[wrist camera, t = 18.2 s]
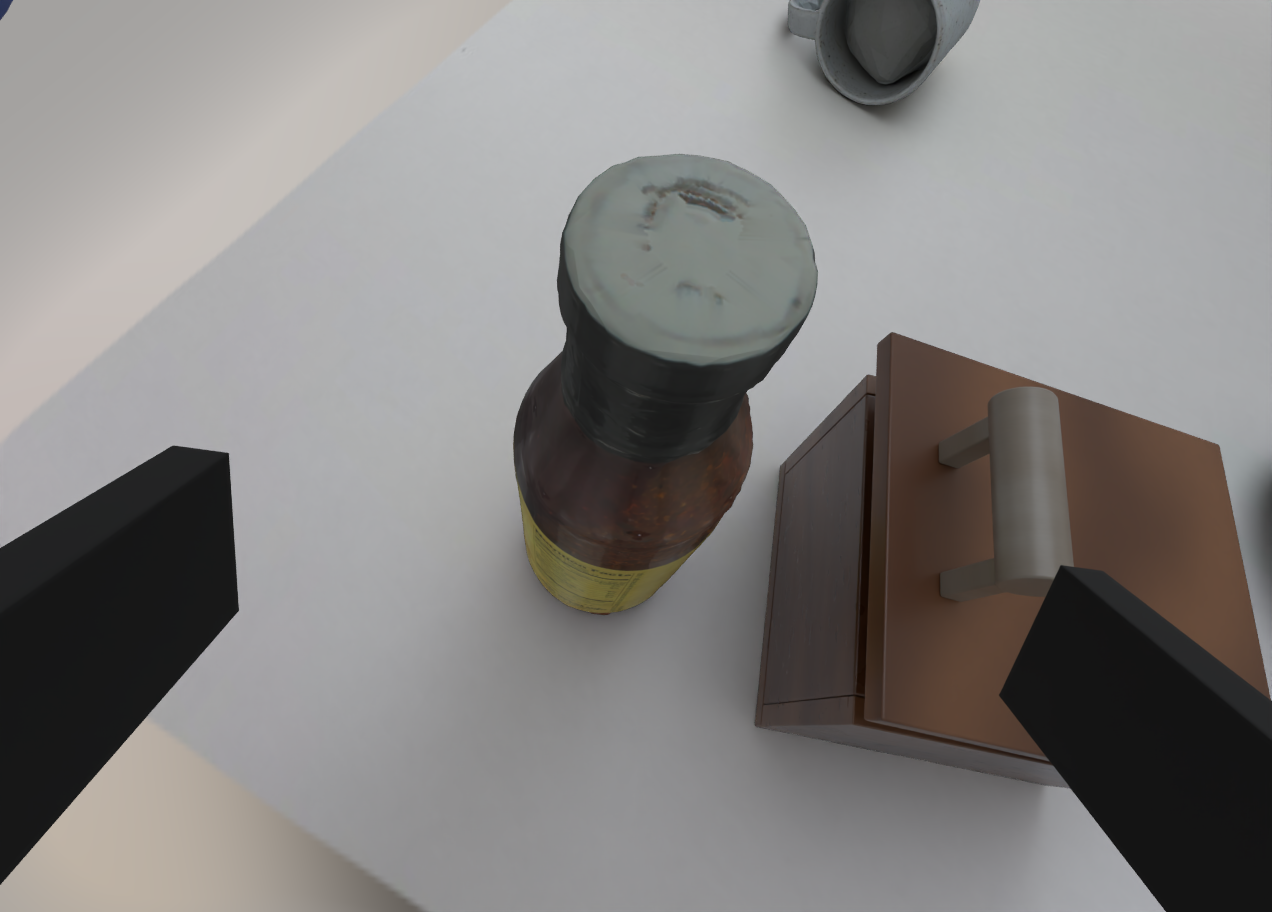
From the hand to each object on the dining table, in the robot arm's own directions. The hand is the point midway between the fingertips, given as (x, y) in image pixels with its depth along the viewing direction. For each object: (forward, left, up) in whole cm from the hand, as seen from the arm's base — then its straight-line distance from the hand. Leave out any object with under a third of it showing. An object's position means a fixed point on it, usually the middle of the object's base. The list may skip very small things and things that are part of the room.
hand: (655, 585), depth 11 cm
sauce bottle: (0, +5, -17) cm, 18 cm away
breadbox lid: (+13, +5, -7) cm, 16 cm away
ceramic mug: (+10, +41, -17) cm, 46 cm away
